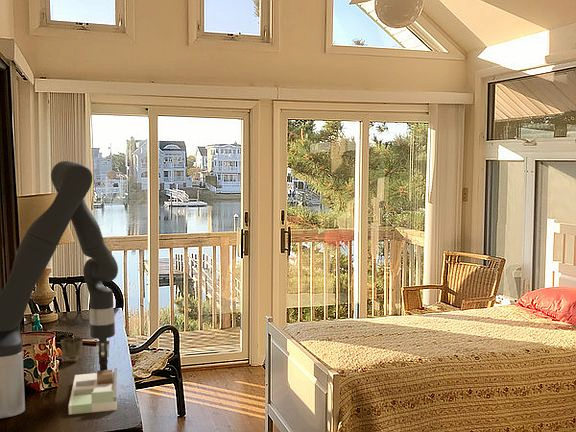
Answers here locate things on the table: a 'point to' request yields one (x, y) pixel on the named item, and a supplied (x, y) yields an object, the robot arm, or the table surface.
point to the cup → (71, 348)
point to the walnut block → (104, 377)
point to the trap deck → (92, 394)
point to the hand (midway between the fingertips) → (103, 375)
